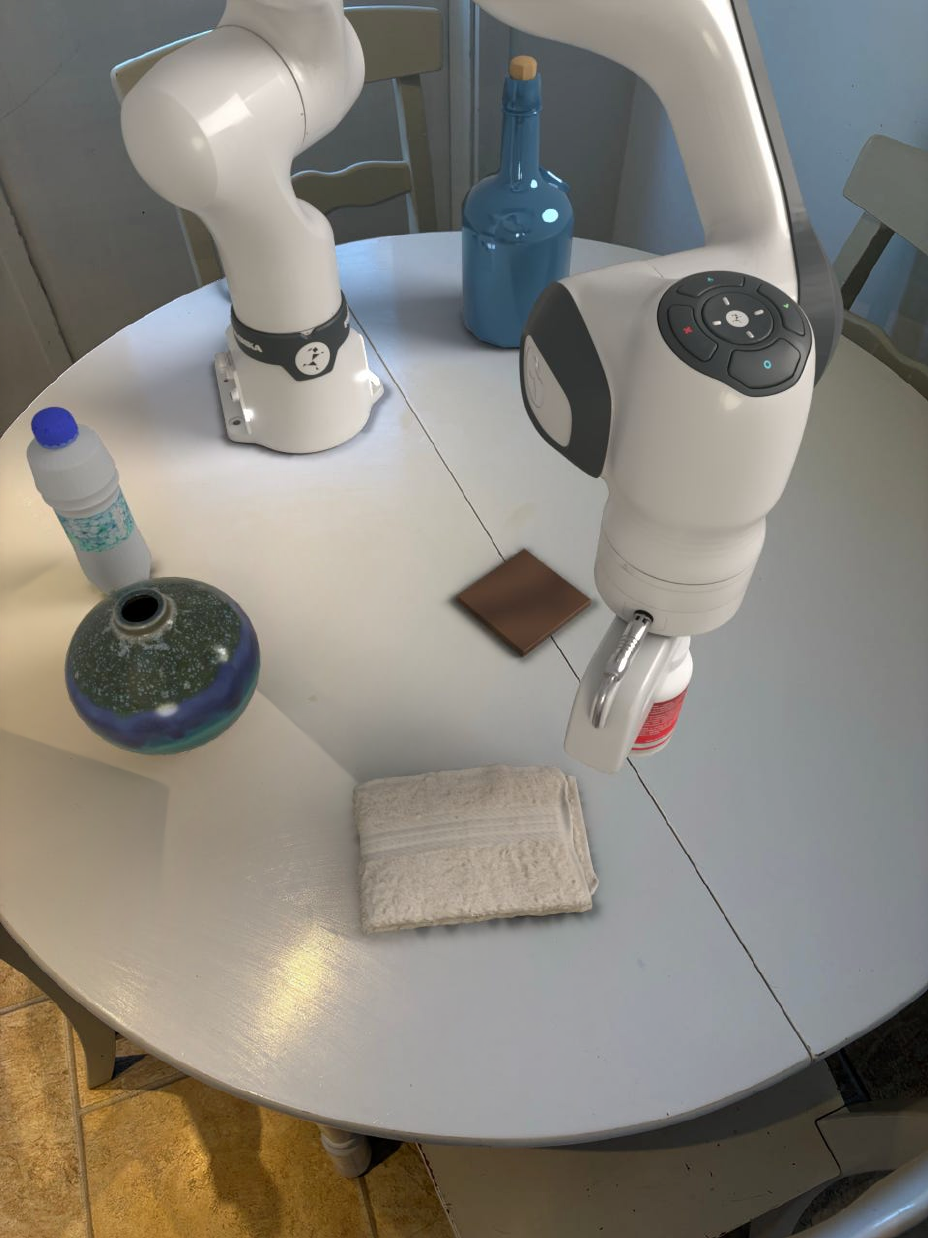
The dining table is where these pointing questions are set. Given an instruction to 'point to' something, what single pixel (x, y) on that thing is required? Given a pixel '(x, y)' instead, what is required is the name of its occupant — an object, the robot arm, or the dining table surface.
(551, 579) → the coaster
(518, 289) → the wine bottle
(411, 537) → the dining table surface
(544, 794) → the washcloth
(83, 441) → the bottle
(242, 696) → the vase
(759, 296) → the robot arm
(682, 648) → the pill bottle
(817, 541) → the dining table surface
